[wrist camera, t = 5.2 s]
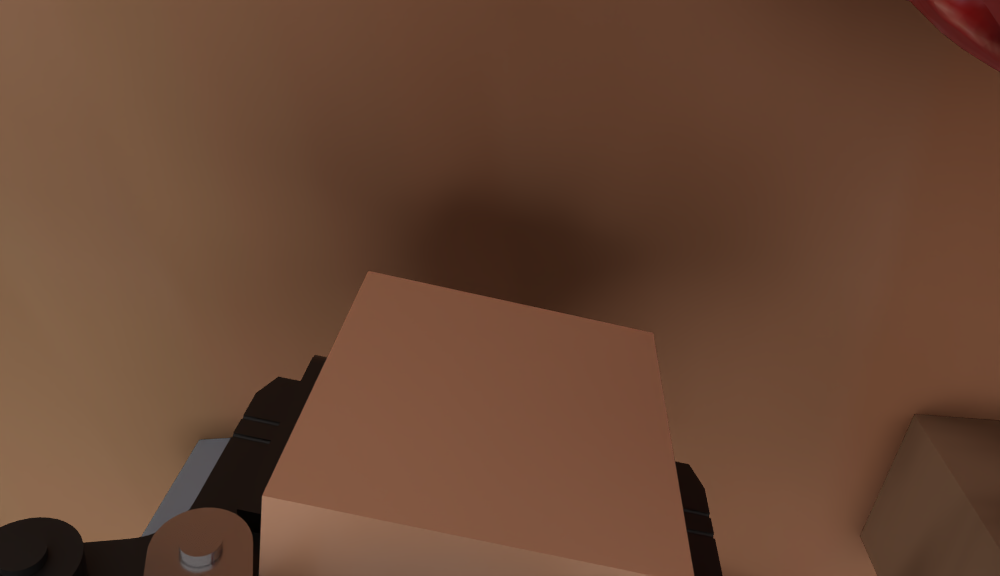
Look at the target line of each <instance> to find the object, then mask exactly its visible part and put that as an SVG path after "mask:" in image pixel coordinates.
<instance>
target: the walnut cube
mask: <svg viewBox="0 0 1000 576" xmlns="http://www.w3.org/2000/svg"><path fill="white" fill-rule="evenodd" d="M860 537H861V539H862V542H863V544H864V546H865V548H866V551H867V553H868V555H869V558H870V560H871V562H872V564H873V567H874V569H875V571H876V573H877V576H1000V421H999V420H986V419H973V418H959V417H946V416H933V415H919V414H914V416H913V419H912V421H911V423H910V425H909V427H908V430H907V432H906V434H905V436H904V439H903V441H902V443H901V445H900V448H899V450H898V452H897V454H896V457H895V459H894V461H893V463H892V465H891V468H890V470H889V472H888V474H887V477H886V479H885V481H884V483H883V486H882V488H881V490H880V492H879V495H878V497H877V499H876V501H875V503H874V506H873V508H872V510H871V512H870V515H869V517H868V519H867V521H866V524H865V526H864V528H863V530H862V533H861V535H860Z"/></svg>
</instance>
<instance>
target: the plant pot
mask: <svg viewBox="0 0 1000 576" xmlns="http://www.w3.org/2000/svg"><path fill="white" fill-rule="evenodd" d="M907 1H910V2H911V3H912V4H913V5H914V6H915V7H916V8H917V9H918V10H919V11H920V12H921V13H922V14H923V15H924V16H925V17H926V18H927V19H928V20H929V21H930V22H931V23H932V24H933V25H934V26H935V27H936V28H937V29H938V30H939V31H940V32H941V33H943V34H944V35H945V36H947V37H948V38H949V39H950V40H952V41H953V42H954V43H956V44H957V45H958V46H959V47H961V48H962V49H963V50H965V51H967V52H968V53H970V54H971V55H973V56H975V57H976V58H978V59H979V60H981V61H983V62H984V63H986V64H987V65H989V66H991V67H992V68H994V69H996V70H998V71H999V72H1000V0H907Z"/></svg>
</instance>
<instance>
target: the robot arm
mask: <svg viewBox="0 0 1000 576" xmlns="http://www.w3.org/2000/svg"><path fill="white" fill-rule="evenodd" d="M326 359H327V357H323V356H318V355H315V356H314V357H313V358H312V360H311V362H310V364H309V366H308V368H307V370H306V372H305V374H304V376H303V378H302V380H301V381H297V380H292V379H287V378H282V377H277V378H276V379H275V380H273V381H272V382H271V383H269V384H268V385H267V386H265V387H264V388H262V389H261V390H260V391H258V392H257V393H256V394H255V396H254V398H253V399H252V401H251V403H250V405H249V407H248V408H247V410H246V412H245V414H244V417H243V419H241V421H240V422H239V424H238V426H237V428H236V429H235V431H234V434H233V437H231V438H230V440H229V442H228V443H227V445H226V447H225V449H224V450H223V452H222V454H221V456H220V457H219V459H218V461H217V463H216V464H215V466H214V468H213V470H212V471H211V473H210V475H209V477H208V478H207V480H206V482H205V484H204V485H203V487H202V489H201V491H200V492H199V494H198V496H197V498H196V500H195V501H194V503H193V504H192V506H191V507H190V509H189V510H188V511H186V512H183V513H181V514H178V515H177V516H175V517H173V518H171V519H170V520H168V521H167V522H166V523H164V524H163V525H162V526H161V527H160V528H159V529H158V530H157V531H156V533H153V534H150V535H147V536H143V537H139V538H132V539H123V540H110V541H98V542H86V543H83V541H82V538H81V536H80V534H79V533H78V531H77V530H76V529H75V528H74V527H73V526H71V525H70V524H68V523H66V522H64V521H61V520H58V519H53V518H41V517H39V518H29V519H24V520H19V521H16V522H13V523H9V524H7V525H5V526H2V527H0V576H259V559H260V535H261V510H262V495H263V493H264V491H265V488H266V486H267V484H268V482H269V480H270V478H271V476H272V474H273V471H274V469H275V467H276V465H277V463H278V461H279V459H280V457H281V454H282V452H283V450H284V448H285V446H286V444H287V442H288V440H289V438H290V435H291V433H292V431H293V429H294V427H295V425H296V423H297V421H298V418H299V416H300V414H301V412H302V410H303V408H304V406H305V404H306V402H307V399H308V397H309V395H310V393H311V391H312V389H313V387H314V385H315V382H316V380H317V378H318V376H319V374H320V372H321V370H322V368H323V365H324V363H325V361H326ZM675 465H676V471H677V477H678V483H679V488H680V494H681V500H682V506H683V512H684V518H685V524H686V530H687V536H688V542H689V548H690V554H691V560H692V566H693V572H694V576H722V571H721V566H720V561H719V556H718V551H717V547H716V542H715V539H713V535H714V532H713V527H712V522H711V518H709V514H710V513H709V508H708V503H707V498H706V493H705V489H704V487H703V485H702V484H701V482H700V481H699V479H698V478H697V476H696V475H695V473H694V472H693V470H692V468H691V467H690V465H689V464H684V463H680V462H675Z"/></svg>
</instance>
